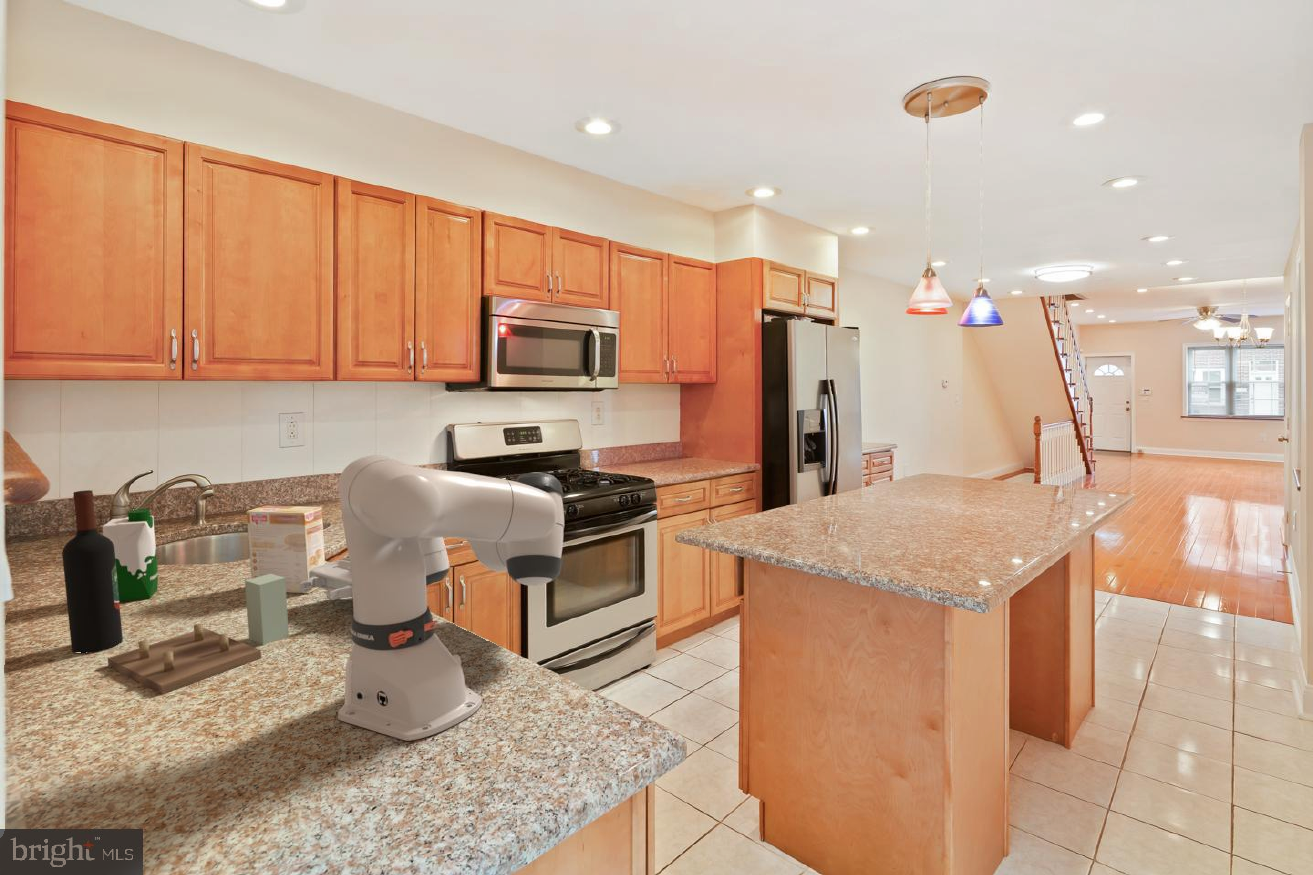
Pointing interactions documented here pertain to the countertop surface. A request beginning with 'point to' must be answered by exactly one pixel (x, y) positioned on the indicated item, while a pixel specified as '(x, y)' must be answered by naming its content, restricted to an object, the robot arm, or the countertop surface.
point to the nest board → (183, 659)
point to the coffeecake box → (286, 543)
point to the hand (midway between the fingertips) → (314, 591)
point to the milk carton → (134, 554)
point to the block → (266, 608)
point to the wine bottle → (91, 583)
